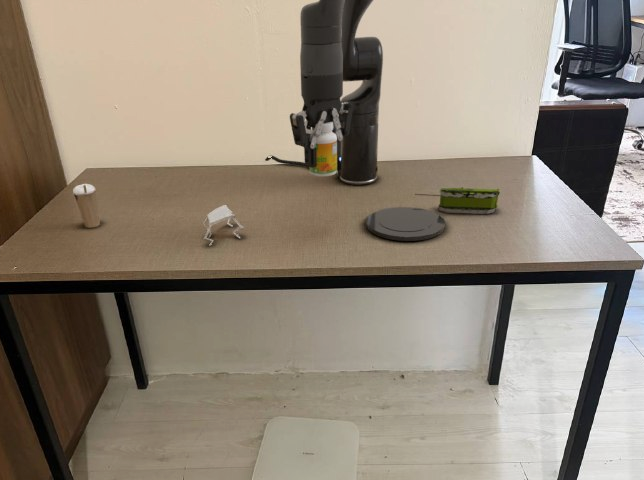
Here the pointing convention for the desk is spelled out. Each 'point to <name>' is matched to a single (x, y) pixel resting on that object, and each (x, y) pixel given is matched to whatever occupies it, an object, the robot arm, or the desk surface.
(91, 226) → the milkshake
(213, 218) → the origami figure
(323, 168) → the supplement bottle
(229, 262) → the desk surface
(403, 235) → the plate
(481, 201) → the toy tank
